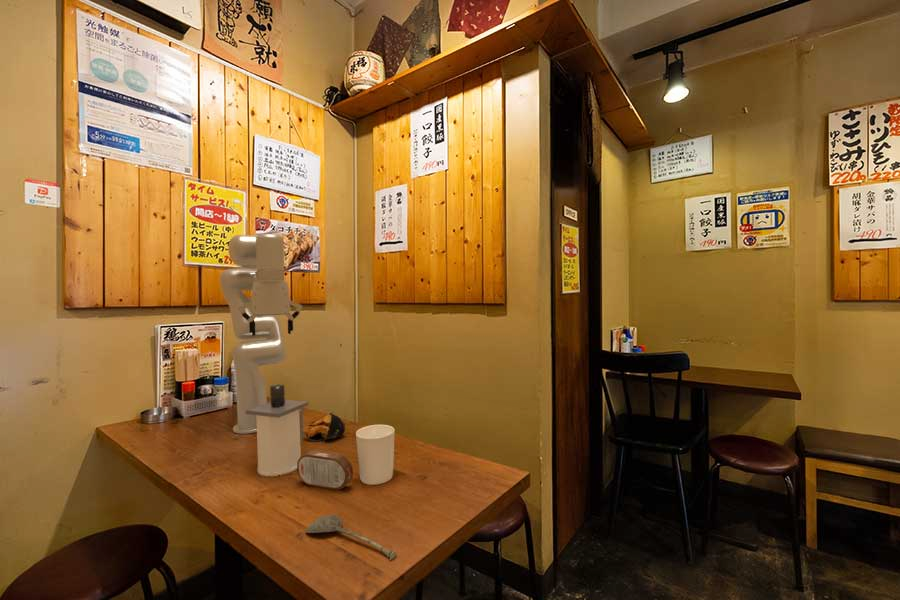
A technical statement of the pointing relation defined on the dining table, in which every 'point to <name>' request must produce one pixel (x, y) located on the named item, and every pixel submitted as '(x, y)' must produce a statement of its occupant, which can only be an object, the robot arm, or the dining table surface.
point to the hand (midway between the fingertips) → (271, 334)
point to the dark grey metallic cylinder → (277, 395)
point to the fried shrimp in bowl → (325, 428)
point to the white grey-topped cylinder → (278, 436)
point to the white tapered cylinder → (375, 453)
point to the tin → (325, 469)
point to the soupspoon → (334, 524)
